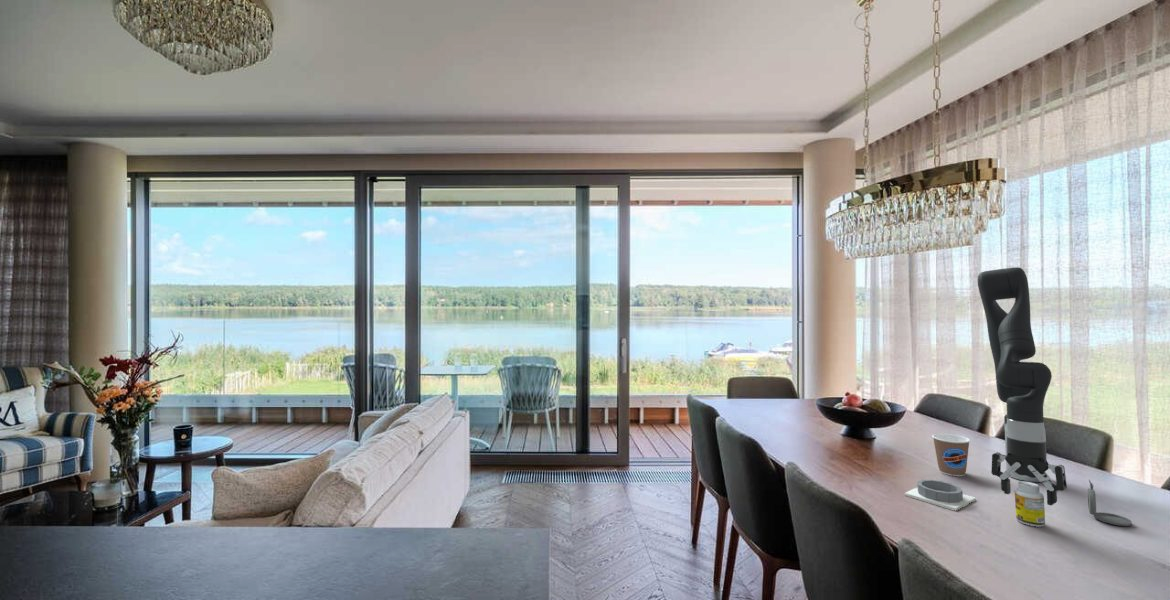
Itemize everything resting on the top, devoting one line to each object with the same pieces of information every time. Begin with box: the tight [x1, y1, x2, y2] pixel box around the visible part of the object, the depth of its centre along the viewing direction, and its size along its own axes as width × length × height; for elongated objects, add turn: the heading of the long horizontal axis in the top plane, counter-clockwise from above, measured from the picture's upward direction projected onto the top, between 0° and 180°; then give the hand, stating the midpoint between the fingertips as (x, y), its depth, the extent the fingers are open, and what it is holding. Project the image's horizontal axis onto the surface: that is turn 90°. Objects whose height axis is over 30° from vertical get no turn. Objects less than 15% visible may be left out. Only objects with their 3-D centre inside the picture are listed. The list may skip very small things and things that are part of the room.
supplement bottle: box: [1014, 480, 1046, 528], centre depth 121 cm, size 6×6×10 cm
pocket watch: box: [1087, 479, 1133, 527], centre depth 122 cm, size 8×8×10 cm
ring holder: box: [904, 479, 977, 512], centre depth 138 cm, size 13×13×4 cm
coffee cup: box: [931, 433, 971, 477], centre depth 158 cm, size 10×10×12 cm
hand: (1028, 498), depth 121 cm, fingers open, 8 cm apart
